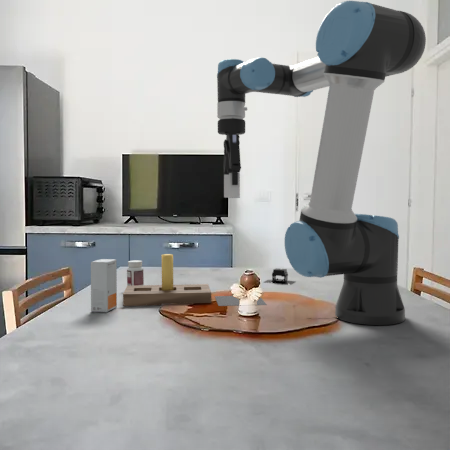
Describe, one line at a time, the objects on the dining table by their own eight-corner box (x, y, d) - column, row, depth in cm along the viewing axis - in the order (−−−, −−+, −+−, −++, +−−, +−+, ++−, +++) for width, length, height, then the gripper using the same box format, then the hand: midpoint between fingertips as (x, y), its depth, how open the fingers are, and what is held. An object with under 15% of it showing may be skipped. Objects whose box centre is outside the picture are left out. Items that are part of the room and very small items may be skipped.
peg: (173, 301, 137) (173, 255, 137) (161, 301, 137) (161, 255, 136) (173, 299, 140) (173, 254, 140) (162, 299, 140) (161, 254, 139)
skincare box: (107, 312, 125) (106, 262, 124) (90, 312, 125) (89, 261, 125) (117, 307, 131) (117, 259, 130) (101, 306, 131) (100, 258, 131)
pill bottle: (145, 288, 156) (145, 260, 155) (141, 291, 151) (141, 262, 151) (129, 288, 156) (129, 259, 156) (125, 291, 152) (124, 262, 151)
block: (211, 304, 134) (211, 292, 134) (123, 306, 132) (123, 294, 132) (208, 294, 146) (208, 284, 146) (127, 296, 144) (127, 285, 144)
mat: (266, 306, 131) (266, 304, 131) (218, 307, 130) (218, 305, 130) (258, 296, 143) (258, 295, 143) (214, 297, 142) (214, 296, 142)
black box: (302, 283, 168) (302, 268, 167) (295, 287, 161) (296, 272, 161) (264, 280, 173) (264, 266, 172) (257, 284, 166) (257, 269, 166)
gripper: (252, 112, 132) (251, 198, 133) (239, 125, 156) (239, 197, 158) (221, 112, 131) (222, 198, 132) (214, 124, 156) (214, 197, 157)
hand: (231, 197), depth 145 cm, fingers open, 13 cm apart
